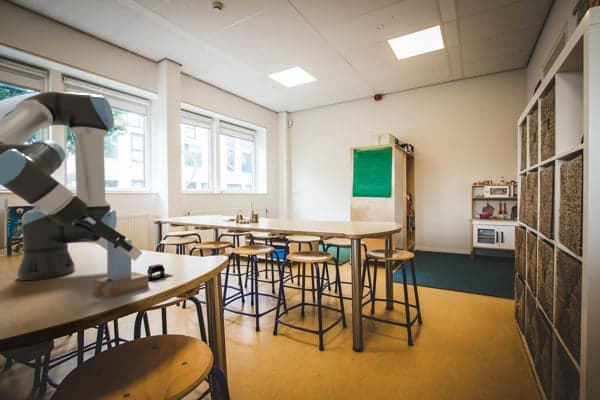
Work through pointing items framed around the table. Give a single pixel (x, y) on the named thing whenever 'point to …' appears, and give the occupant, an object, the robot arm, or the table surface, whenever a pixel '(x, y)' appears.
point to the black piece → (159, 276)
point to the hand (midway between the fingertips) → (127, 253)
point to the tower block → (117, 263)
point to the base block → (120, 285)
